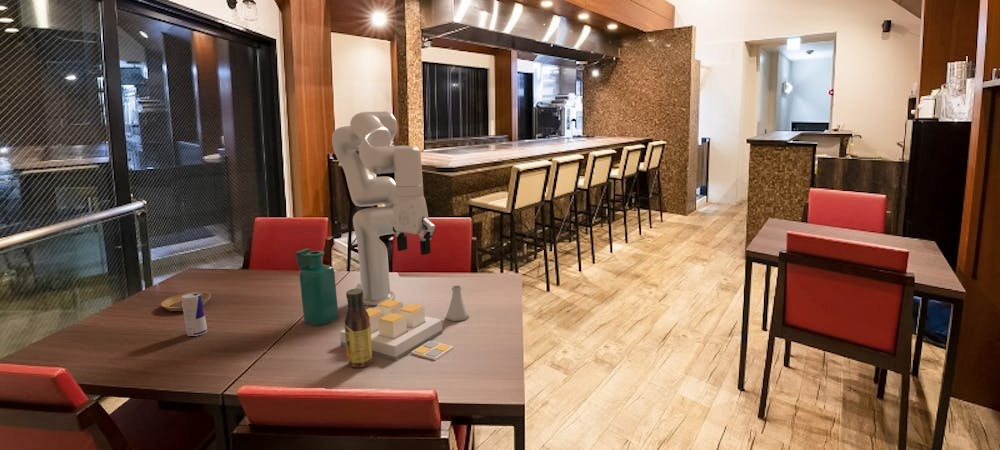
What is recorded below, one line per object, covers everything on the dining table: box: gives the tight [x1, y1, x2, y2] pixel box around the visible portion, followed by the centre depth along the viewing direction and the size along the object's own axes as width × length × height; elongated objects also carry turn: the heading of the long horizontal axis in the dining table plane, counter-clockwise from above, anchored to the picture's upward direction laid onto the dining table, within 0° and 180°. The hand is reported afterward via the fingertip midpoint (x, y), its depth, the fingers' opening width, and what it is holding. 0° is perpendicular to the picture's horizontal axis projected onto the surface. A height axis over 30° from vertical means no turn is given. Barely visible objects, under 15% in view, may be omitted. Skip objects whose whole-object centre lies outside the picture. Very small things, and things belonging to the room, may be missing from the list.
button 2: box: [376, 299, 404, 316], centre depth 160 cm, size 5×5×5 cm
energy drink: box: [181, 291, 208, 337], centre depth 161 cm, size 5×5×12 cm
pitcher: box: [295, 248, 339, 326], centre depth 169 cm, size 10×8×22 cm
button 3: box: [378, 313, 407, 340], centre depth 150 cm, size 5×5×5 cm
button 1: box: [365, 307, 384, 334], centre depth 154 cm, size 5×5×5 cm
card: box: [410, 340, 454, 361], centre depth 148 cm, size 8×8×1 cm
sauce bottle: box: [343, 288, 373, 368], centre depth 139 cm, size 6×6×20 cm
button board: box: [339, 315, 443, 361], centre depth 156 cm, size 20×20×4 cm
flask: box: [446, 284, 470, 322], centre depth 170 cm, size 7×7×10 cm
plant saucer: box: [160, 291, 212, 312], centre depth 186 cm, size 15×15×3 cm
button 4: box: [398, 303, 426, 329], centre depth 156 cm, size 5×5×5 cm
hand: (414, 252), depth 155 cm, fingers open, 9 cm apart
